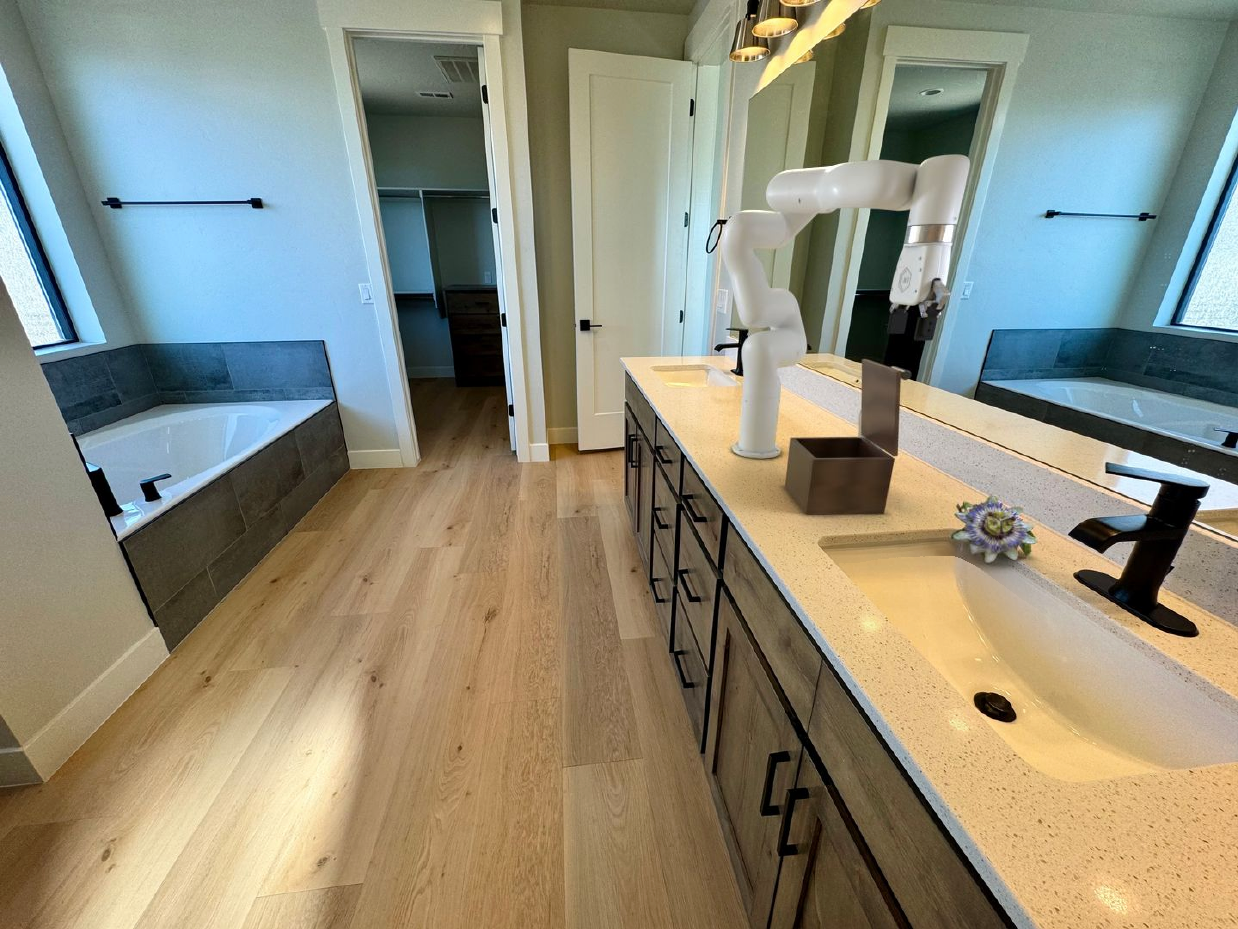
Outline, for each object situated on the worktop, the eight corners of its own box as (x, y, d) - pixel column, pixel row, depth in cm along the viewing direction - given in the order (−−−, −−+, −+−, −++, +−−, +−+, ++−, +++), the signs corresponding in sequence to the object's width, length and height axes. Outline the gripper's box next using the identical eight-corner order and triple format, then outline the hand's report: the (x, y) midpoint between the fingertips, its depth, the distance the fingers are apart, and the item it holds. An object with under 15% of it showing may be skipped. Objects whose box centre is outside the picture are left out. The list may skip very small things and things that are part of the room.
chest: (805, 514, 98) (813, 459, 94) (784, 487, 111) (790, 437, 107) (884, 513, 98) (895, 458, 94) (853, 486, 111) (862, 436, 106)
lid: (896, 371, 88) (925, 367, 87) (861, 359, 100) (886, 355, 100) (893, 456, 94) (920, 452, 93) (861, 434, 106) (884, 431, 106)
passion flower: (979, 588, 83) (951, 540, 80) (957, 546, 92) (931, 501, 89) (1059, 566, 78) (1033, 513, 74) (1027, 524, 87) (1002, 474, 83)
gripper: (883, 240, 95) (867, 331, 101) (936, 234, 79) (913, 343, 85) (922, 240, 95) (904, 331, 101) (983, 234, 79) (957, 343, 85)
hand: (908, 336), depth 93 cm, fingers open, 9 cm apart
